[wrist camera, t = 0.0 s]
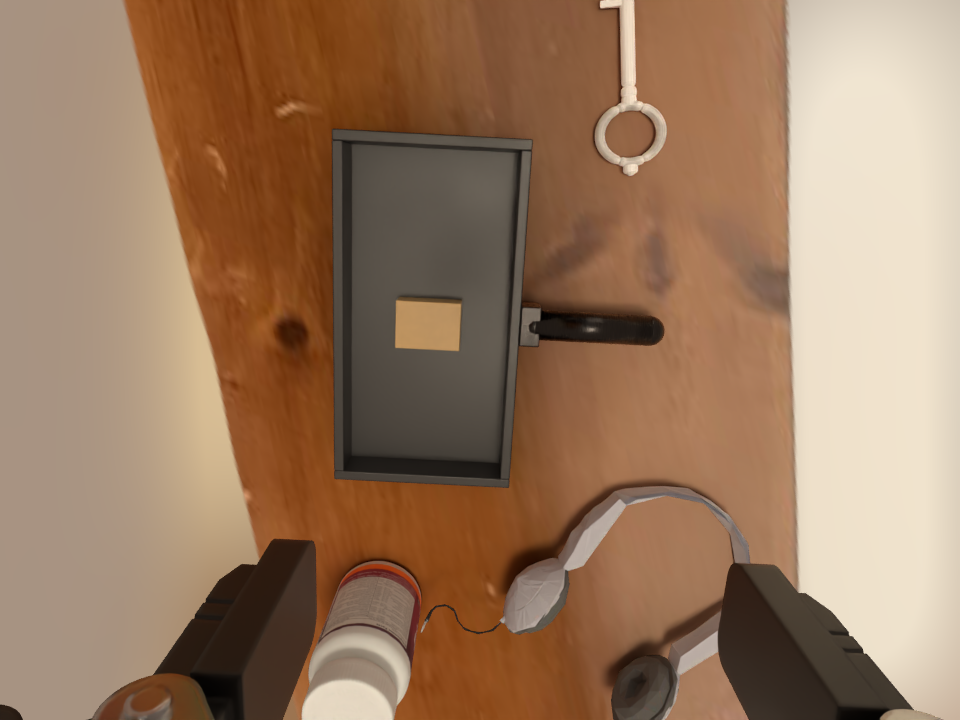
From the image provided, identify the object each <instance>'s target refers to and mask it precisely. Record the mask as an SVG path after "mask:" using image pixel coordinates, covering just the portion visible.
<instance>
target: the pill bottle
mask: <svg viewBox="0 0 960 720" xmlns="http://www.w3.org/2000/svg"><path fill="white" fill-rule="evenodd" d="M420 610H421V592H420V589H419V586H418V584H417V582H416V581H415V579H414V578H413V576H411V574H410V573H408V572H407V571H406V570H405V569H403V568H402V567H400V566H398V565H396V564H393V563H390V562H386V561H371V562H366V563H363V564H361V565H358V566H356V567H355V568H353V569H352V570H351V571H349V572H348V573H347V574H346V575H345V577H344V578H343V579H342V581H341V583H340V585H339V587H338V590H337V592H336V595H335V597H334V600H333V603H332V605H331V608H330V611H329V614H328V616H327V619H326V622H325V624H324V627H323V629H322V632H321V635H320V637H319V640H318V642H317V645H316V647H315V650H314V652H313V654H312V658H311V661H310V665H309V683H310V685H309V688H308V692H307V695H306V697H305V700H304V704H303V708H302V720H394V716H395V711H396V707H397V705H398V704H399V702H400V701H401V700H402V698H403V697H404V695H405V693H406V691H407V688H408V684H409V680H410V676H411V668H412V660H413V654H414V648H415V641H416V635H417V629H418V623H419V617H420Z"/></svg>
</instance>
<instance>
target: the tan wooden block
mask: <svg viewBox="0 0 960 720" xmlns="http://www.w3.org/2000/svg"><path fill="white" fill-rule="evenodd" d="M461 316H462V300H453V299H434V298H415V297H399V298H398V299H397V300H396V324H395V348H406V349H426V350H445V351H459V349H460V338H461Z"/></svg>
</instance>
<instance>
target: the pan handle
mask: <svg viewBox="0 0 960 720" xmlns="http://www.w3.org/2000/svg"><path fill="white" fill-rule="evenodd" d="M663 336H664V326H663V323H662V322H661V321H660V320H659V319H658V318H656V317H653V316H638V315H619V314H600V313H581V312H562V311H542V308H541V306H540V304H539V303H536V302H522V305H521V319H520V334H519V346H527V347H539V340H549V341H568V342H587V343H606V344H626V345H645V346H651V345H655V344H657V343H658V342H660V341H661V340H662V338H663Z"/></svg>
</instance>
